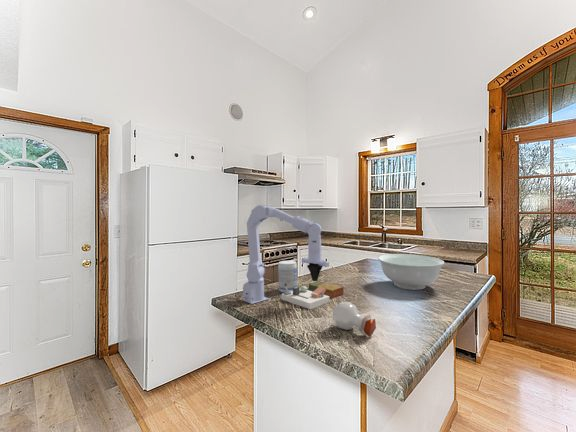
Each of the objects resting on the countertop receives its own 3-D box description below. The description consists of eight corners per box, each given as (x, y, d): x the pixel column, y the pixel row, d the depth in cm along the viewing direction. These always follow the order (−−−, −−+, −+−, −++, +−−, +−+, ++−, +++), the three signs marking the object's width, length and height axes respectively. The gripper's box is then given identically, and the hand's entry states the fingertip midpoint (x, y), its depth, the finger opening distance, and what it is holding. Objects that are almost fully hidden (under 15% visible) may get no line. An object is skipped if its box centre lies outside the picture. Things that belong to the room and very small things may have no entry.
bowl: (457, 295, 137) (458, 264, 136) (389, 295, 137) (389, 265, 137) (426, 278, 169) (426, 253, 168) (371, 278, 169) (371, 253, 169)
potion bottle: (335, 326, 106) (371, 345, 95) (322, 317, 100) (359, 336, 89) (346, 303, 109) (382, 319, 98) (334, 293, 103) (371, 309, 92)
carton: (332, 299, 134) (332, 290, 134) (308, 291, 146) (308, 283, 145) (343, 295, 139) (343, 286, 139) (319, 288, 151) (318, 280, 151)
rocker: (317, 298, 127) (316, 295, 126) (311, 296, 129) (310, 293, 129) (325, 290, 130) (325, 287, 130) (319, 289, 133) (319, 286, 132)
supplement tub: (298, 292, 143) (298, 263, 142) (279, 293, 141) (279, 264, 141) (295, 287, 152) (295, 260, 152) (277, 288, 151) (277, 260, 150)
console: (310, 309, 120) (309, 298, 120) (281, 299, 133) (281, 290, 133) (329, 301, 129) (329, 292, 129) (301, 293, 142) (300, 284, 142)
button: (303, 292, 135) (303, 287, 134) (299, 290, 137) (299, 286, 137) (307, 290, 136) (307, 286, 136) (303, 289, 138) (303, 285, 138)
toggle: (287, 291, 132) (285, 283, 133) (285, 291, 133) (283, 283, 134) (289, 290, 133) (287, 282, 134) (287, 290, 134) (285, 283, 135)
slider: (295, 295, 130) (295, 288, 130) (292, 294, 131) (292, 287, 131) (299, 294, 132) (299, 287, 132) (296, 293, 133) (296, 286, 133)
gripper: (333, 251, 125) (333, 281, 125) (308, 247, 135) (309, 276, 136) (322, 253, 120) (323, 285, 120) (298, 249, 131) (298, 278, 131)
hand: (315, 280), depth 128 cm, fingers closed
